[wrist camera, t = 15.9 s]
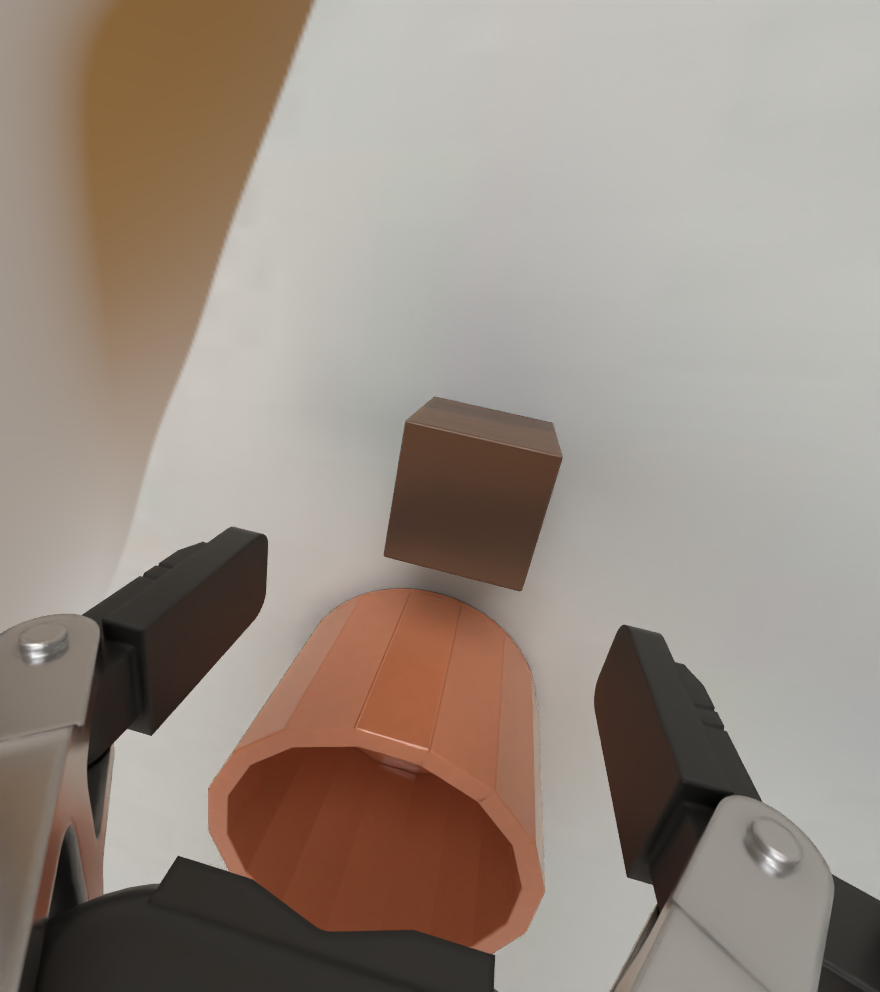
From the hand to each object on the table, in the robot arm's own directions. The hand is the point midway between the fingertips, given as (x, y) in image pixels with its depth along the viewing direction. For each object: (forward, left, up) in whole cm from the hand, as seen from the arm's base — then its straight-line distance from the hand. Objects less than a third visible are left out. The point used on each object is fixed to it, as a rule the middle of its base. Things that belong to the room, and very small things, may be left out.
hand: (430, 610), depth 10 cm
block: (0, 0, -10) cm, 10 cm away
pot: (+11, +7, -10) cm, 16 cm away
